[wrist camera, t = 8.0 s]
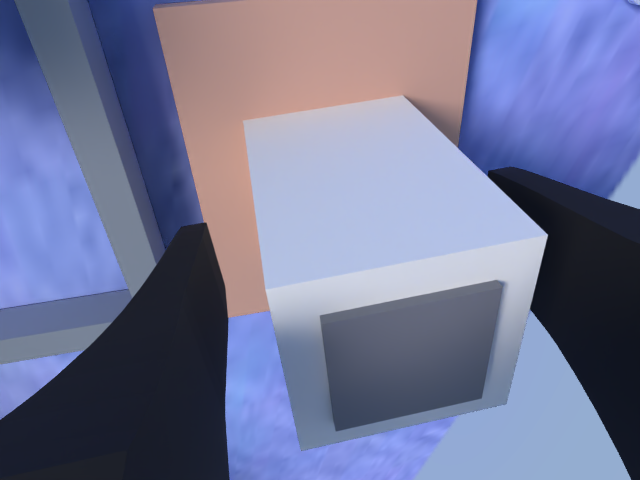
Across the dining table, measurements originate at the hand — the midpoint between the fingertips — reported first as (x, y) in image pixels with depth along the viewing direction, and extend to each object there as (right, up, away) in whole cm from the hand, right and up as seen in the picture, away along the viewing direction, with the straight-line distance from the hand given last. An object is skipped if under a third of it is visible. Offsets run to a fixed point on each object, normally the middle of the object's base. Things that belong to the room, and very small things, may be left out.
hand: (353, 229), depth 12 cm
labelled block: (-1, +2, +2) cm, 3 cm away
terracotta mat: (-1, +2, +3) cm, 3 cm away
